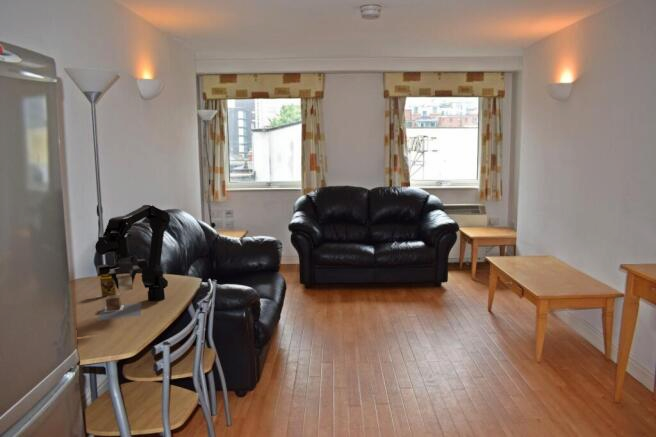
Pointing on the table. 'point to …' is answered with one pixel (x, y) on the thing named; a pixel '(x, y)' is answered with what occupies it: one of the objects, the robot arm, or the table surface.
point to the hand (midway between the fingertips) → (124, 287)
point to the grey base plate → (121, 312)
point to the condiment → (107, 286)
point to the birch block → (124, 283)
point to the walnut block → (113, 302)
